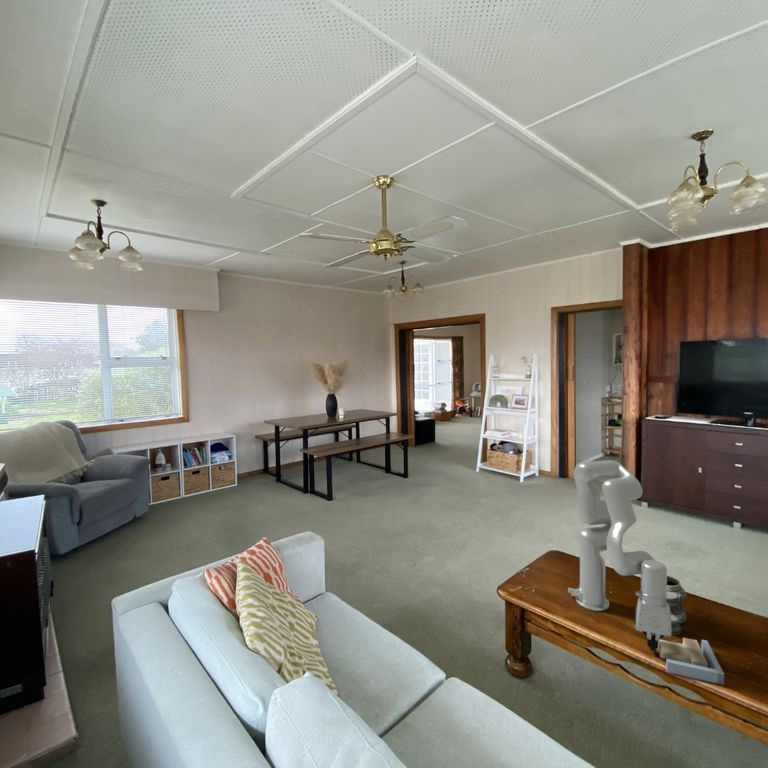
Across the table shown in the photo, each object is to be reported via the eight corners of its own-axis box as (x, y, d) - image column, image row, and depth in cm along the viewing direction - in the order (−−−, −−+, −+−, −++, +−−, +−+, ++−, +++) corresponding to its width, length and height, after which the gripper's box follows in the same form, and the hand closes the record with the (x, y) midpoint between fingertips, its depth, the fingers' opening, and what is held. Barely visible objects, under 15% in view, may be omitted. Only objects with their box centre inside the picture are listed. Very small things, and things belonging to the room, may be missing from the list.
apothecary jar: (645, 613, 169) (646, 569, 168) (682, 620, 164) (683, 575, 163) (650, 631, 158) (651, 584, 157) (689, 639, 153) (690, 591, 152)
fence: (667, 672, 138) (667, 661, 137) (656, 640, 153) (656, 630, 153) (724, 685, 132) (724, 674, 132) (706, 650, 147) (707, 640, 147)
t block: (663, 665, 141) (663, 654, 140) (655, 642, 152) (656, 632, 151) (707, 675, 136) (707, 663, 136) (696, 651, 147) (696, 640, 147)
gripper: (630, 599, 145) (629, 650, 146) (682, 608, 139) (680, 661, 140) (627, 588, 152) (626, 637, 153) (676, 596, 146) (675, 647, 147)
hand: (652, 648), depth 147 cm, fingers closed
